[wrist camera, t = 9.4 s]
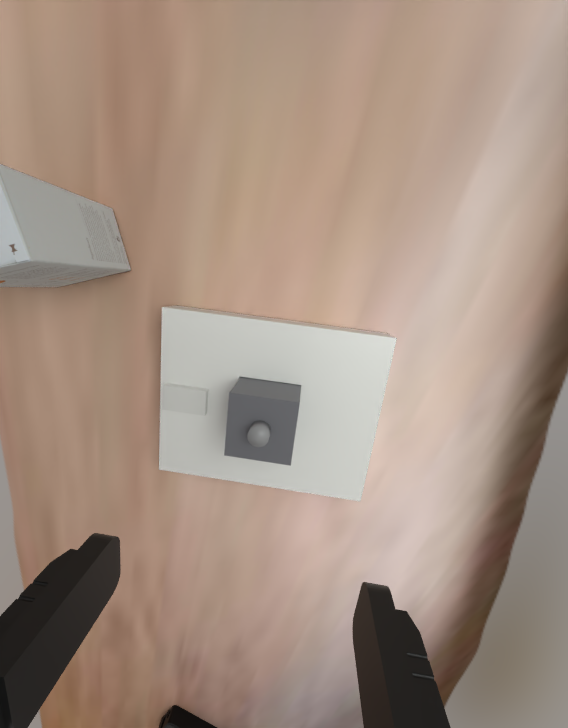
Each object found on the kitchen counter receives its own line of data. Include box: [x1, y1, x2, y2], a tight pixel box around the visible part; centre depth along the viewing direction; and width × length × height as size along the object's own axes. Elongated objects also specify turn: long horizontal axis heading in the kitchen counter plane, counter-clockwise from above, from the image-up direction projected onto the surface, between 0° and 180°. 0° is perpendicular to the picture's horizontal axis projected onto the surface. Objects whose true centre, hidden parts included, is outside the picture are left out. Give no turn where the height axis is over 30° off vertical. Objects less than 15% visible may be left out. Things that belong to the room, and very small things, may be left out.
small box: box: [0, 164, 131, 287], centre depth 22 cm, size 8×6×10 cm
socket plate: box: [159, 305, 397, 501], centre depth 28 cm, size 16×20×4 cm
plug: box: [224, 377, 301, 466], centre depth 26 cm, size 5×5×8 cm
